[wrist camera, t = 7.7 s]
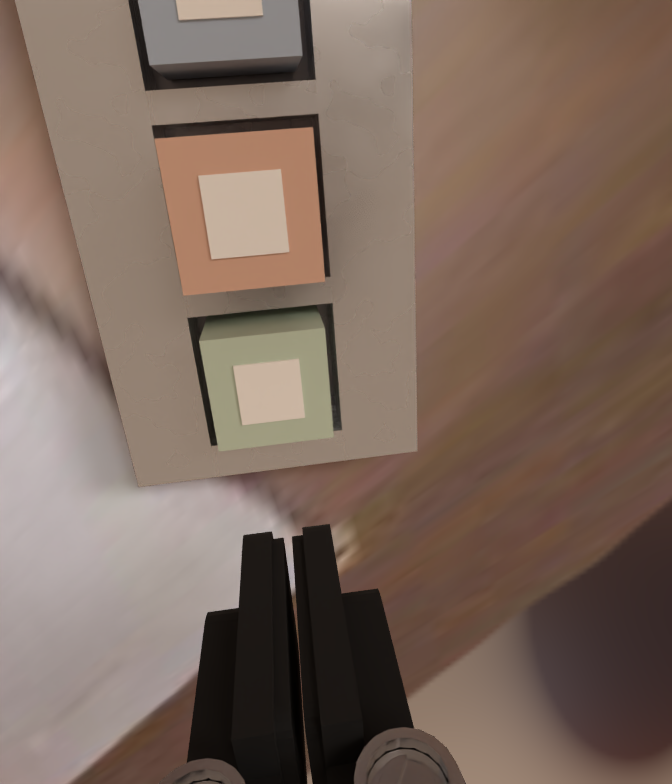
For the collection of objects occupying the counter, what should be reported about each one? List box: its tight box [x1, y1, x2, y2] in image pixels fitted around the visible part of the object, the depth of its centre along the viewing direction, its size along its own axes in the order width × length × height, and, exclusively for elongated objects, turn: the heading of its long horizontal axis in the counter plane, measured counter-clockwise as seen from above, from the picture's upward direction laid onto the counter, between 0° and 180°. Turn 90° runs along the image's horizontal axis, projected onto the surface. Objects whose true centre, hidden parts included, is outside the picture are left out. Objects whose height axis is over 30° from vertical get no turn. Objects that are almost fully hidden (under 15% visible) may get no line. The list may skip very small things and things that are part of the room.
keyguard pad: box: [15, 0, 417, 487], centre depth 19 cm, size 12×28×3 cm, turn 4°
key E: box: [199, 305, 334, 452], centre depth 22 cm, size 4×4×4 cm
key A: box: [154, 127, 325, 296], centre depth 18 cm, size 4×4×4 cm
